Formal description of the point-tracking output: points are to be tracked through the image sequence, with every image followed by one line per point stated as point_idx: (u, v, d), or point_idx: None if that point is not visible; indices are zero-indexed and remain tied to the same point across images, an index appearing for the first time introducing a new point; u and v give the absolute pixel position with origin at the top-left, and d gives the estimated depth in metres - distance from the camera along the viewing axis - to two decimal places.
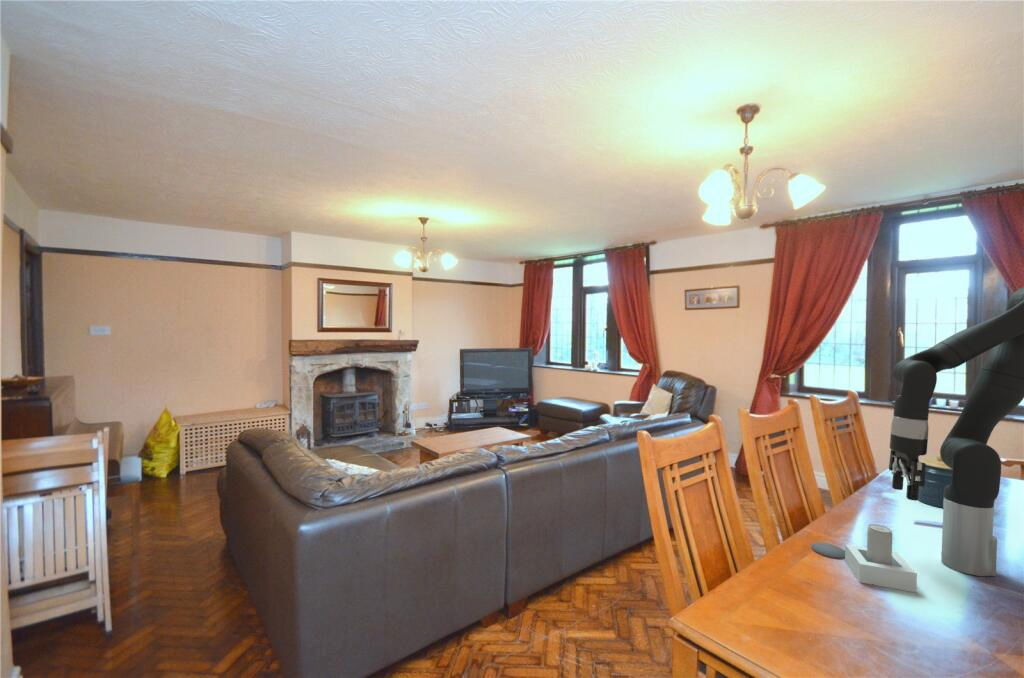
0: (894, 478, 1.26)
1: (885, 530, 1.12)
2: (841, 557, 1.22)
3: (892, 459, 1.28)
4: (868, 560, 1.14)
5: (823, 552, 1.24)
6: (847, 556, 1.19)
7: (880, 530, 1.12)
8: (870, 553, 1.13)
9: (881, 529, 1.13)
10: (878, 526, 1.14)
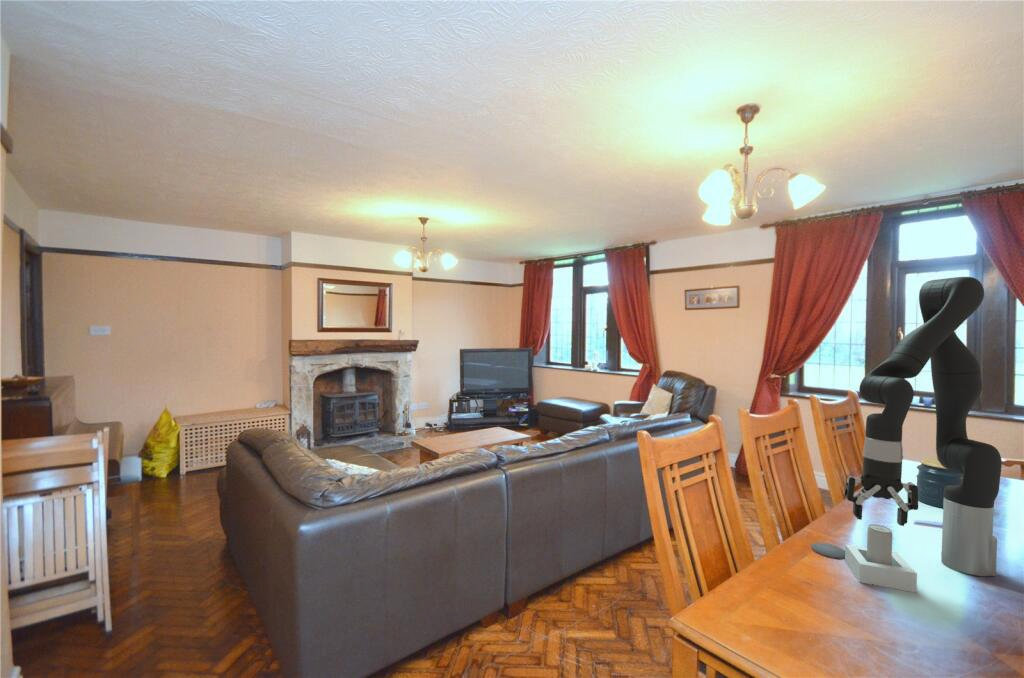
0: (861, 508, 1.14)
1: (885, 530, 1.12)
2: (841, 557, 1.22)
3: (853, 488, 1.14)
4: (868, 560, 1.14)
5: (823, 552, 1.24)
6: (847, 556, 1.19)
7: (880, 530, 1.12)
8: (870, 553, 1.13)
9: (881, 529, 1.13)
10: (878, 526, 1.14)
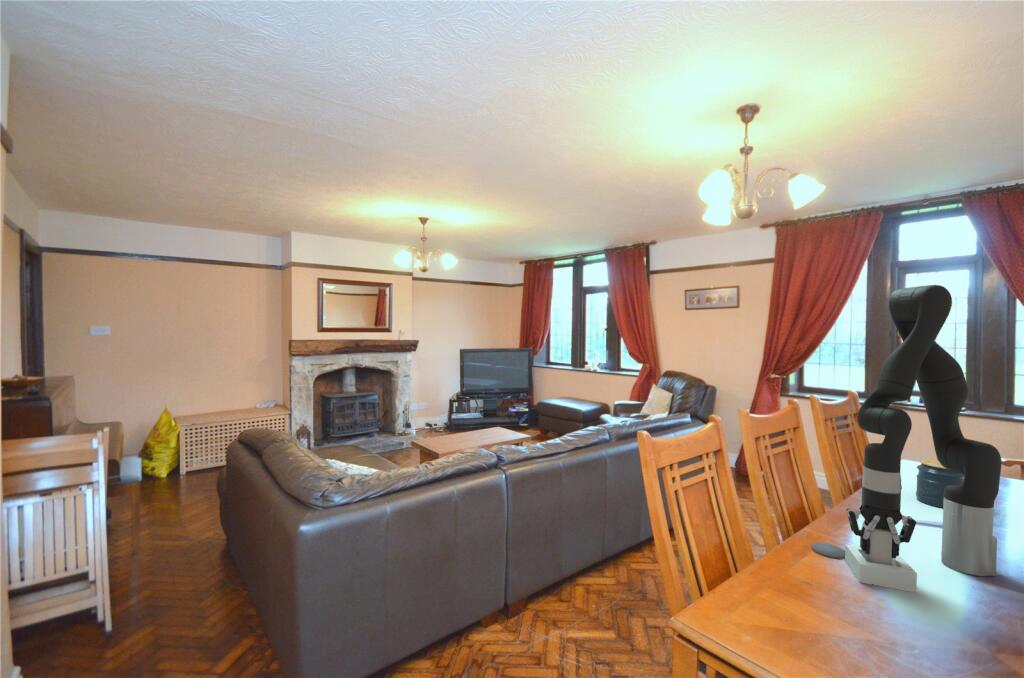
0: (869, 542, 1.13)
1: (885, 530, 1.12)
2: (841, 557, 1.22)
3: (856, 521, 1.14)
4: (868, 560, 1.14)
5: (823, 552, 1.24)
6: (847, 556, 1.19)
7: (880, 530, 1.12)
8: (870, 553, 1.13)
9: (881, 529, 1.13)
10: None
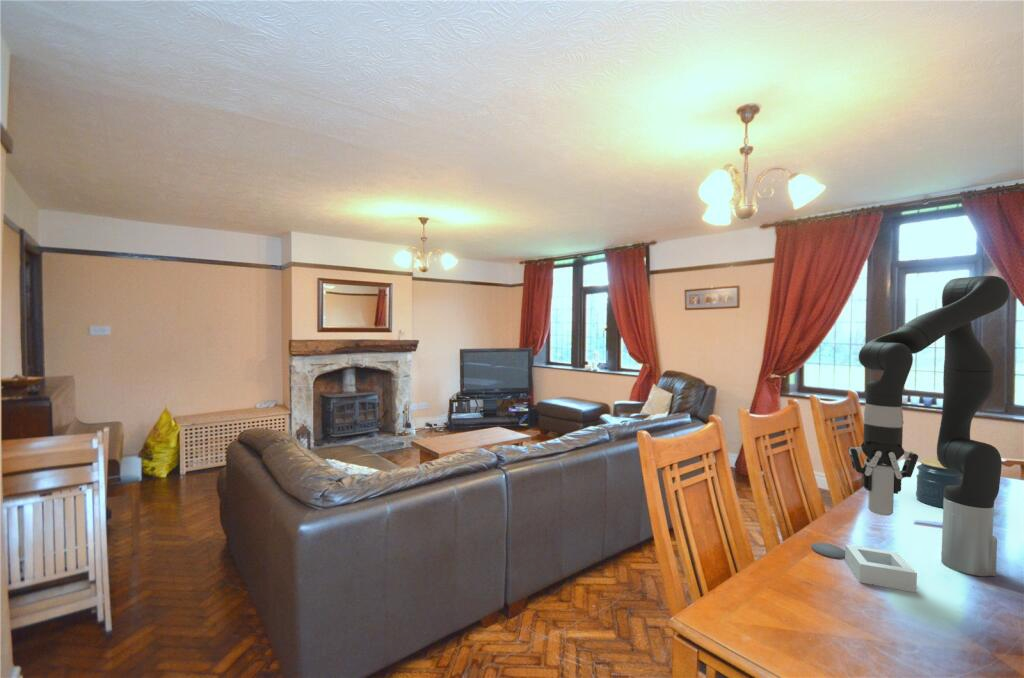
0: None
1: (887, 466, 1.12)
2: (841, 557, 1.22)
3: (858, 458, 1.14)
4: (870, 497, 1.14)
5: (823, 552, 1.24)
6: (847, 556, 1.19)
7: (882, 466, 1.12)
8: (872, 489, 1.13)
9: (883, 465, 1.13)
10: None
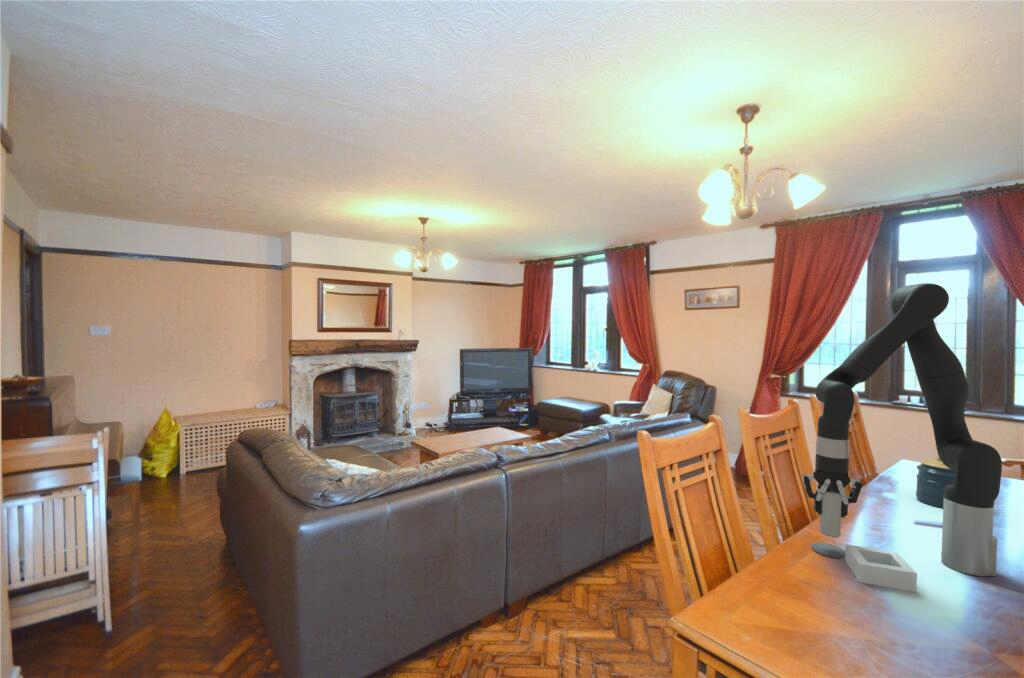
0: None
1: (836, 492, 1.24)
2: (841, 557, 1.22)
3: (810, 485, 1.26)
4: (820, 520, 1.26)
5: (823, 552, 1.24)
6: (847, 556, 1.19)
7: (831, 492, 1.24)
8: (822, 513, 1.25)
9: (832, 492, 1.25)
10: None
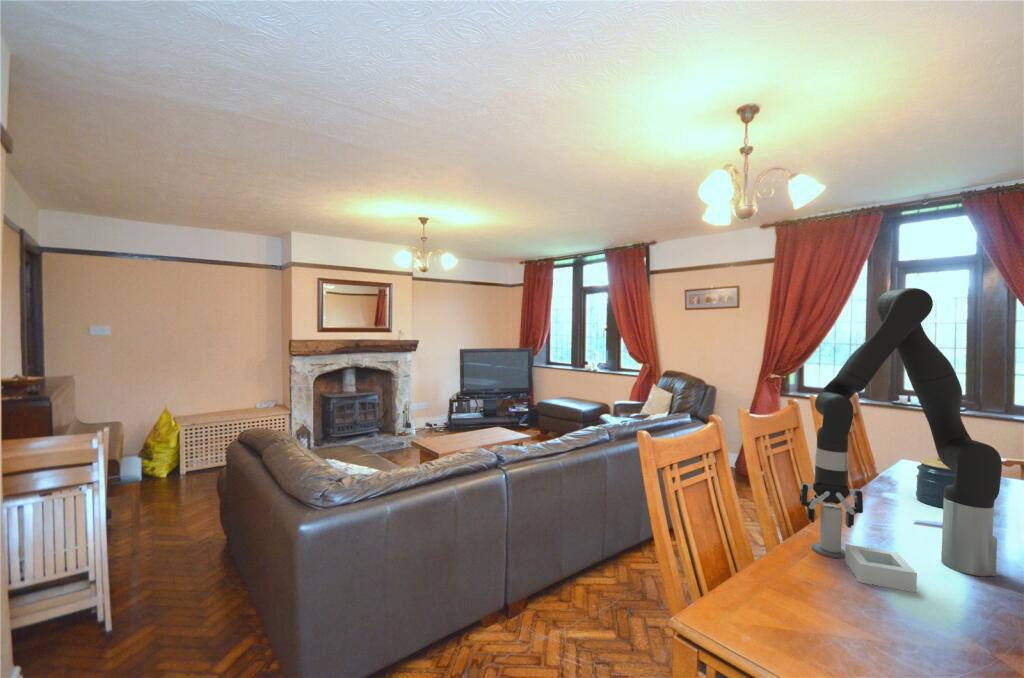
0: (814, 512, 1.26)
1: (836, 508, 1.25)
2: (841, 557, 1.22)
3: (806, 494, 1.27)
4: (821, 535, 1.26)
5: (823, 552, 1.24)
6: (847, 556, 1.19)
7: (831, 508, 1.24)
8: (822, 529, 1.25)
9: (832, 507, 1.25)
10: (830, 505, 1.26)
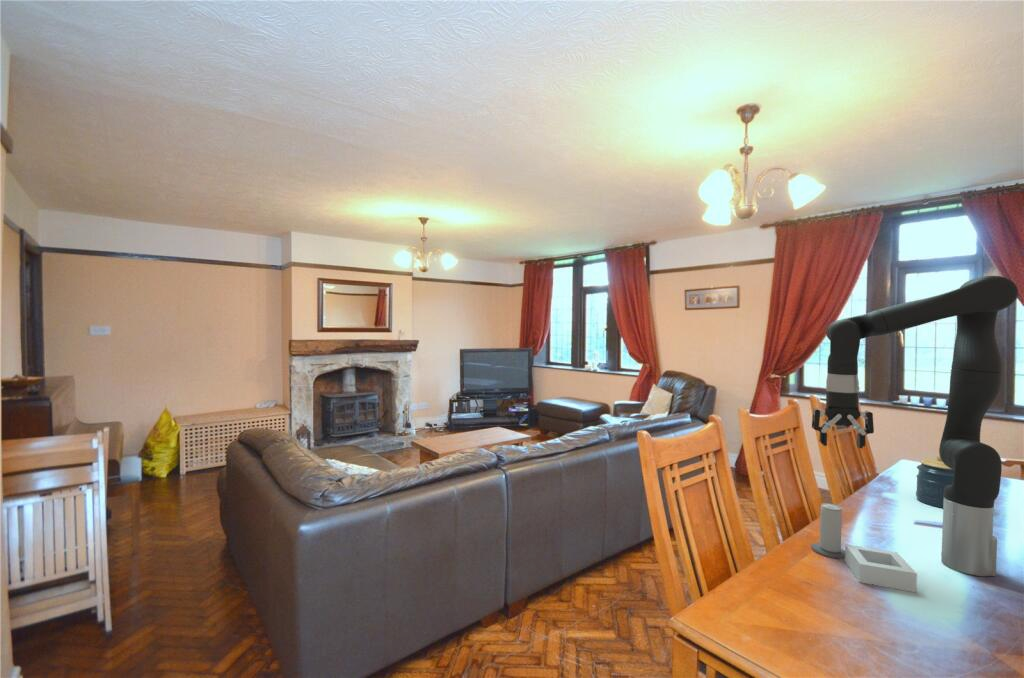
0: (826, 435, 1.31)
1: (836, 508, 1.25)
2: (841, 557, 1.22)
3: (819, 418, 1.31)
4: (821, 535, 1.26)
5: (823, 552, 1.24)
6: (847, 556, 1.19)
7: (831, 508, 1.24)
8: (822, 529, 1.25)
9: (832, 507, 1.25)
10: (830, 505, 1.26)
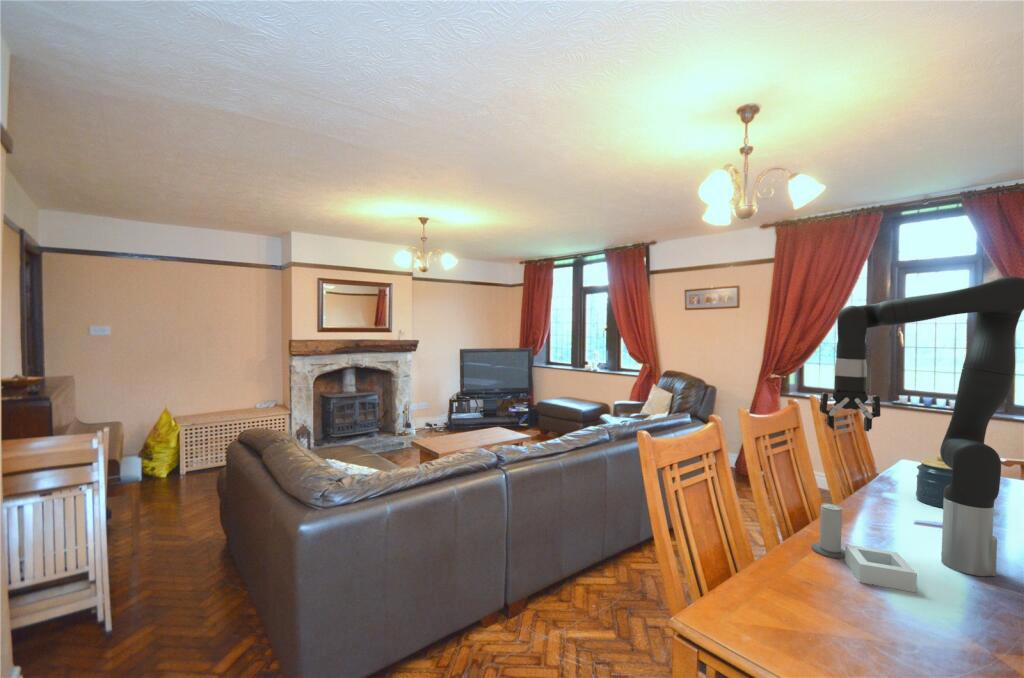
0: None
1: (836, 508, 1.24)
2: (841, 557, 1.22)
3: None
4: (821, 535, 1.26)
5: (823, 552, 1.24)
6: (847, 556, 1.19)
7: (831, 508, 1.24)
8: (822, 529, 1.25)
9: (832, 507, 1.25)
10: (830, 505, 1.26)
